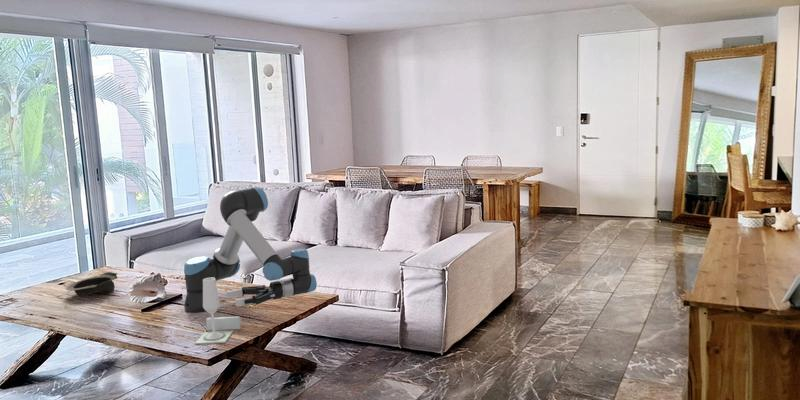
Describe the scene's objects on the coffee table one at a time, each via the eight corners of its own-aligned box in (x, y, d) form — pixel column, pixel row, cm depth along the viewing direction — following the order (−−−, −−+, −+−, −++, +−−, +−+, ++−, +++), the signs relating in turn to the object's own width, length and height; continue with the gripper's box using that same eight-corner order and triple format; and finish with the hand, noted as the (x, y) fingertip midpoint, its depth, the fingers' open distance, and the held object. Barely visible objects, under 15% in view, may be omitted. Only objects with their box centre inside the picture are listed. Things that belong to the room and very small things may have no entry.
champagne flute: (209, 333, 250) (203, 277, 247) (225, 333, 250) (220, 276, 247) (203, 339, 244) (197, 281, 240) (220, 339, 243) (214, 281, 240)
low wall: (207, 330, 256) (205, 319, 255) (208, 329, 258) (207, 318, 257) (240, 328, 256) (239, 317, 255) (241, 327, 258) (240, 316, 257)
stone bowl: (129, 289, 326) (126, 272, 324) (85, 306, 306) (81, 289, 304) (103, 283, 339) (99, 267, 337) (58, 299, 319) (55, 283, 317)
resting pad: (195, 344, 241) (194, 342, 241) (204, 333, 253) (204, 331, 253) (225, 342, 241) (225, 341, 241) (233, 331, 253) (233, 330, 253)
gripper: (291, 304, 249) (240, 316, 239) (271, 290, 271) (224, 300, 260) (290, 287, 248) (238, 297, 238) (270, 274, 269) (222, 283, 259)
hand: (231, 299), depth 249 cm, fingers open, 13 cm apart
